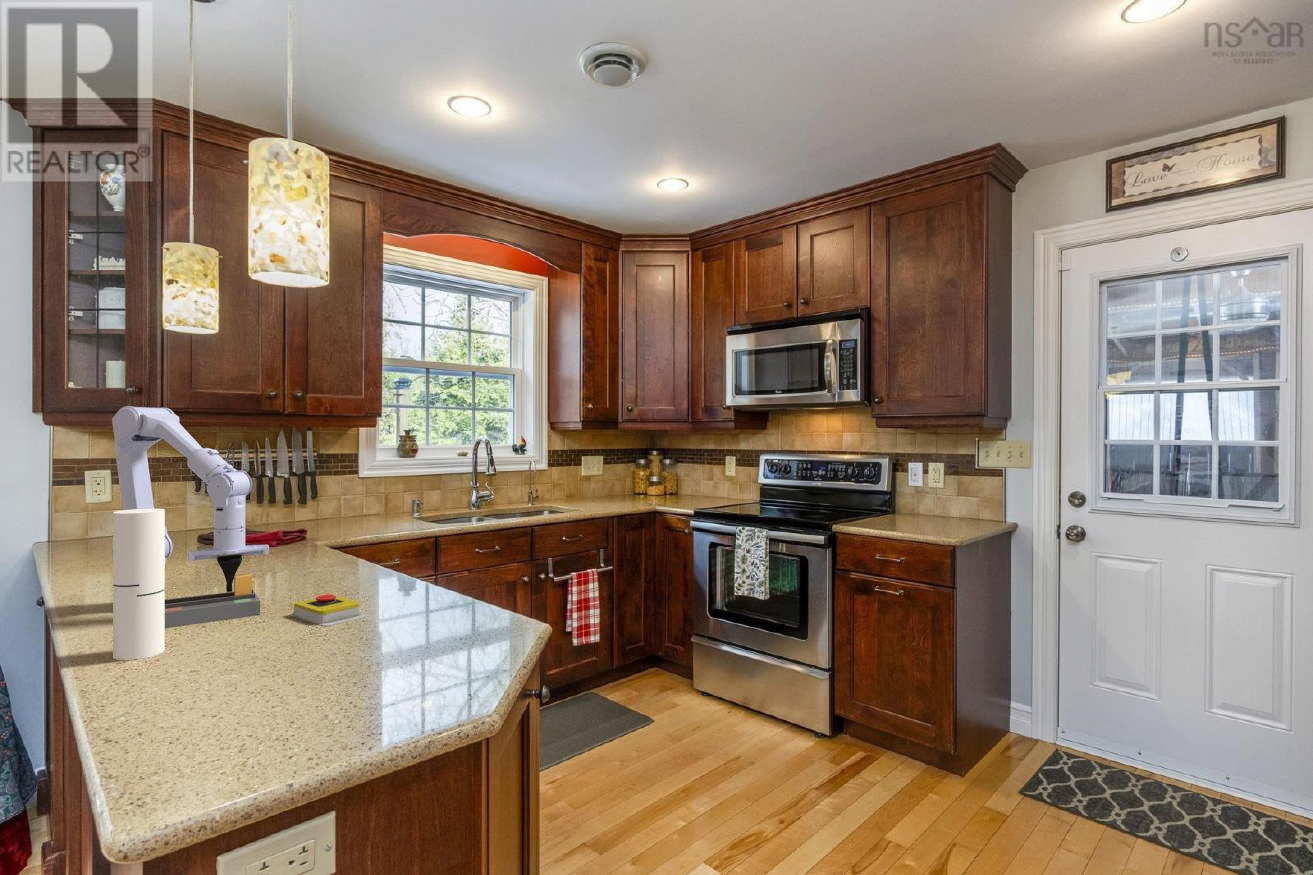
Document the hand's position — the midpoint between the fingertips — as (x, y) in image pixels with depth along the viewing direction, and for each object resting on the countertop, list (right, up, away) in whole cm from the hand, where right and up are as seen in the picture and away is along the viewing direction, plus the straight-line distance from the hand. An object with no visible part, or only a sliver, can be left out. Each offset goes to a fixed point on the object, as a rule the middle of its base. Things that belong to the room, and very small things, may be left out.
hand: (229, 591), depth 143 cm
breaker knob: (+2, -1, +2) cm, 3 cm away
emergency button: (+22, -6, -2) cm, 23 cm away
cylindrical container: (+1, -5, -27) cm, 27 cm away
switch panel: (-3, -5, -2) cm, 6 cm away
